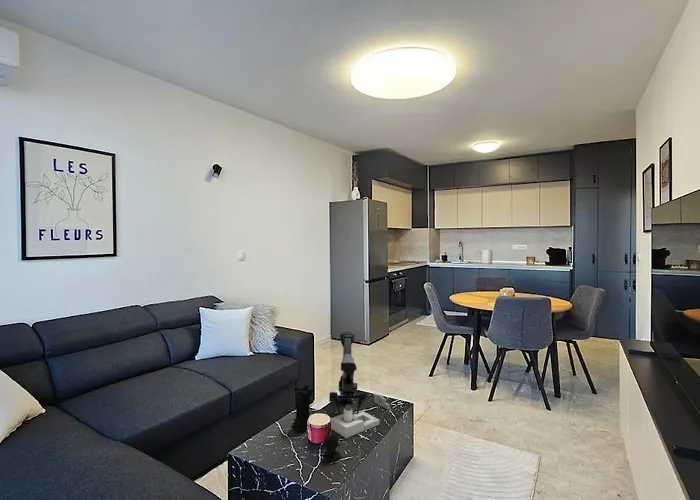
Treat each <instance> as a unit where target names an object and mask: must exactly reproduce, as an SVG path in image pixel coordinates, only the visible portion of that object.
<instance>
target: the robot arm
mask: <svg viewBox="0 0 700 500" xmlns="http://www.w3.org/2000/svg"><path fill="white" fill-rule="evenodd" d="M339 341H340V344H341V345H342V348H343V350H342V359H341V362H340V371H341V372H342V374H341V376H340V377H339V378H340V379H339V380H338V392H337V391H334V392H333V391H330V392H329V399H328V401H329V402H330V403H331V404H333V405H334V407H335V410H336V413H337V416H339V415H340V408H339V402H340V403H342V404H343V405H346V404H349V403H353V402H354V400H358V401H357V407H356V414H357V415H358V413H360V409H361V406H362V405H364V404H365V403H367V400H368V394H367V392H358V394H355V391H357V390H358V383H357V382H355V381H354V378H355V372H356V371H357V364H356V363H355V359H354V357H353V356H352V345H353V343H354V342H355V334H354V333H353V332H352V331H342V332H341V333H339ZM338 393H339V394H338Z"/></svg>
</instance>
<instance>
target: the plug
mask: <svg viewBox="0 0 700 500" xmlns="http://www.w3.org/2000/svg"><path fill="white" fill-rule="evenodd" d="M353 411H354V410H353V408H352V404H349V403H347V404H345V407H344V408H343V414H344V422H346V423H350V422H352V415H353Z"/></svg>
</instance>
